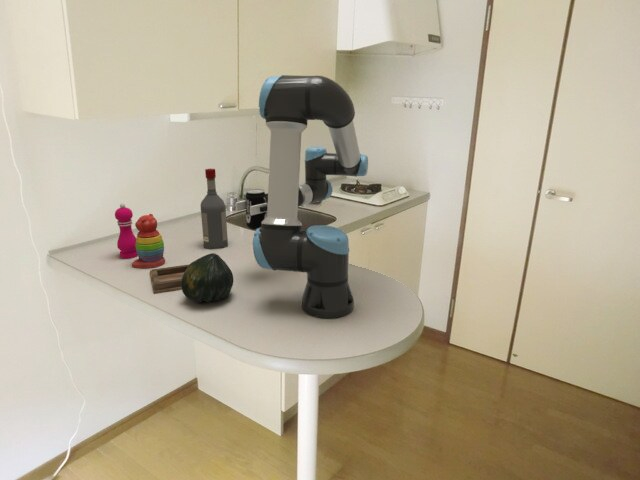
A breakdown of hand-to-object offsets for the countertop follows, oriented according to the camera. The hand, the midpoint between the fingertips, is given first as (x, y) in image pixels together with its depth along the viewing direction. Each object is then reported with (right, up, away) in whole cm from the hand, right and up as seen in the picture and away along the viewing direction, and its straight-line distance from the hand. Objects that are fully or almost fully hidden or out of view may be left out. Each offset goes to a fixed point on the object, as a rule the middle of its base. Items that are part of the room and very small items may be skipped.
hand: (243, 208), depth 152 cm
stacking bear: (-36, -18, +21) cm, 46 cm away
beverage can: (+3, -6, +6) cm, 9 cm away
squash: (-9, -27, -5) cm, 29 cm away
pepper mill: (-47, -16, +28) cm, 57 cm away
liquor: (-17, -12, +40) cm, 45 cm away
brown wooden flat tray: (-23, -23, +8) cm, 33 cm away
